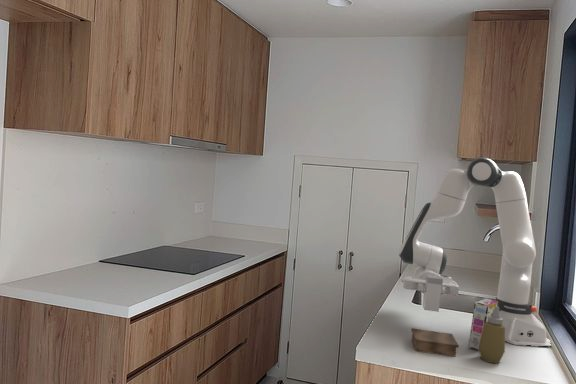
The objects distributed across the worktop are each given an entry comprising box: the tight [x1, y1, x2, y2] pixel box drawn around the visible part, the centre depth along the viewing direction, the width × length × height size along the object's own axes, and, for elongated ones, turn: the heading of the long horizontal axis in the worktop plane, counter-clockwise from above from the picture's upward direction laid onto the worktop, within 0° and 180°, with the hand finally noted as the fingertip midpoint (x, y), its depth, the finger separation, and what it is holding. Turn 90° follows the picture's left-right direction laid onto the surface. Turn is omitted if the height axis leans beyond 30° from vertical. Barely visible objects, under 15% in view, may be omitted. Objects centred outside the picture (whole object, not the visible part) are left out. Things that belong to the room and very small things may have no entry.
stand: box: [411, 327, 459, 357], centre depth 180 cm, size 14×12×4 cm
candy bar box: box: [468, 298, 498, 352], centre depth 186 cm, size 11×5×16 cm, turn 141°
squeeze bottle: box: [479, 306, 506, 364], centre depth 173 cm, size 8×8×18 cm
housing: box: [422, 274, 443, 313], centre depth 192 cm, size 5×5×12 cm
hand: (433, 290), depth 191 cm, fingers closed on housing, 5 cm apart
